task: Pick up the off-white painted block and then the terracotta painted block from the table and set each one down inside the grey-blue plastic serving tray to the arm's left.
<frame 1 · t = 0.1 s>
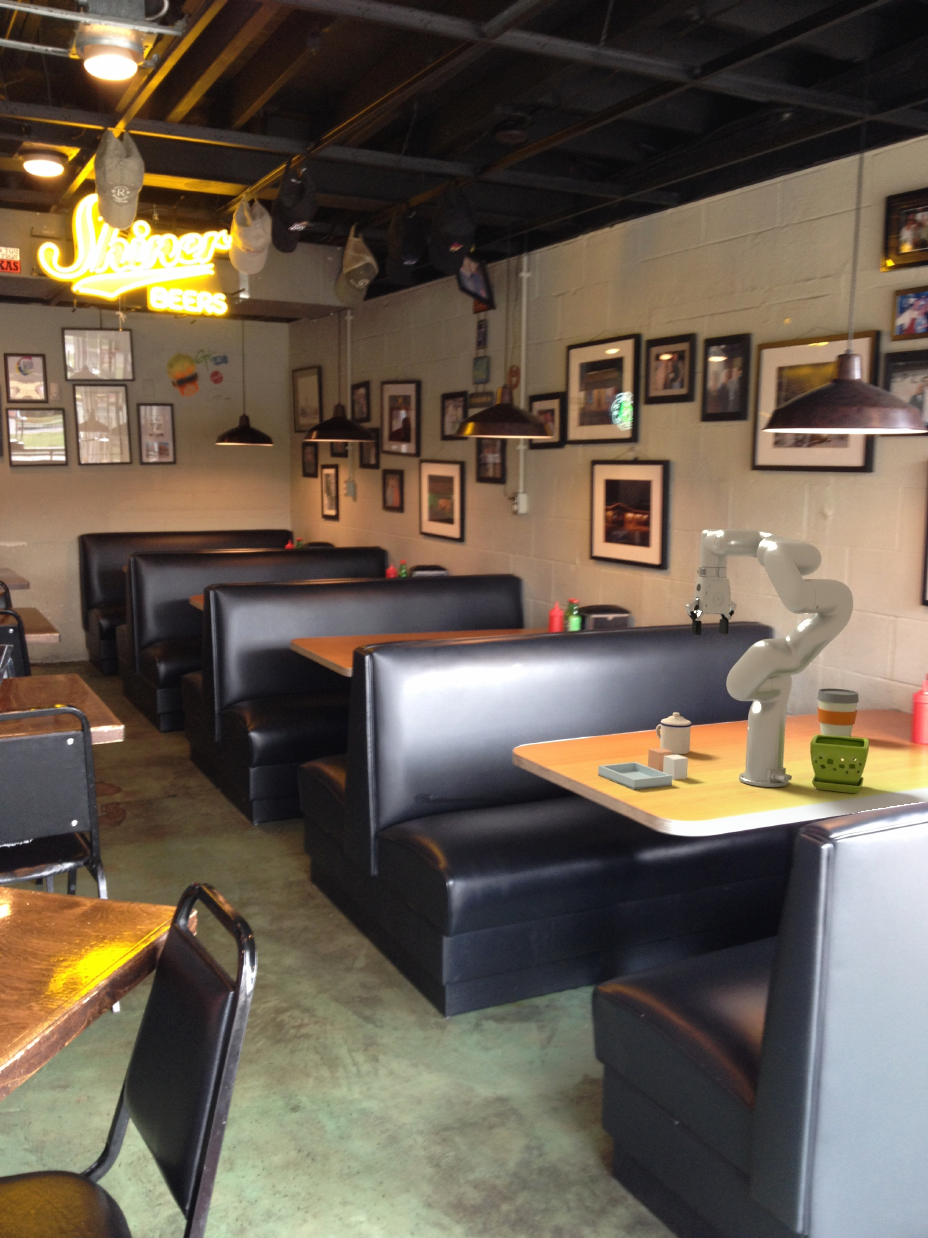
hand: (710, 634, 287), 37 cm above the table, tool pointing down, fingers open, 9 cm apart
reusable coffee cup: (835, 738, 328), on the table
terracotta block: (659, 770, 280), on the table
white block: (674, 777, 272), on the table
tray: (634, 780, 268), on the table
flower pot: (837, 788, 265), on the table
teacup with lid: (670, 751, 304), on the table
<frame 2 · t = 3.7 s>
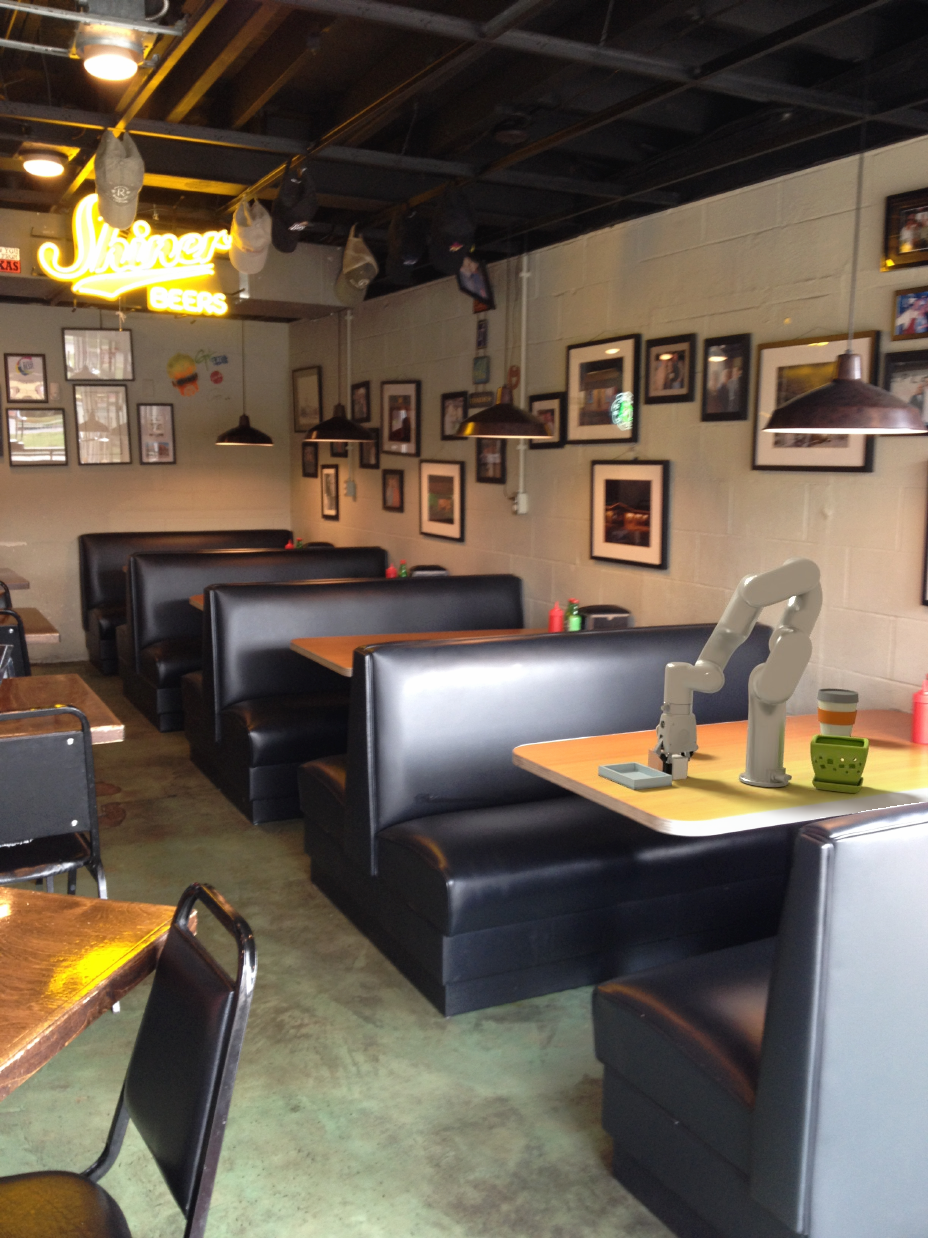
hand: (674, 775, 272), 0 cm above the table, tool pointing down, fingers closed on white block, 4 cm apart
white block: (674, 777, 272), on the table, touching gripper
everything else where it was.
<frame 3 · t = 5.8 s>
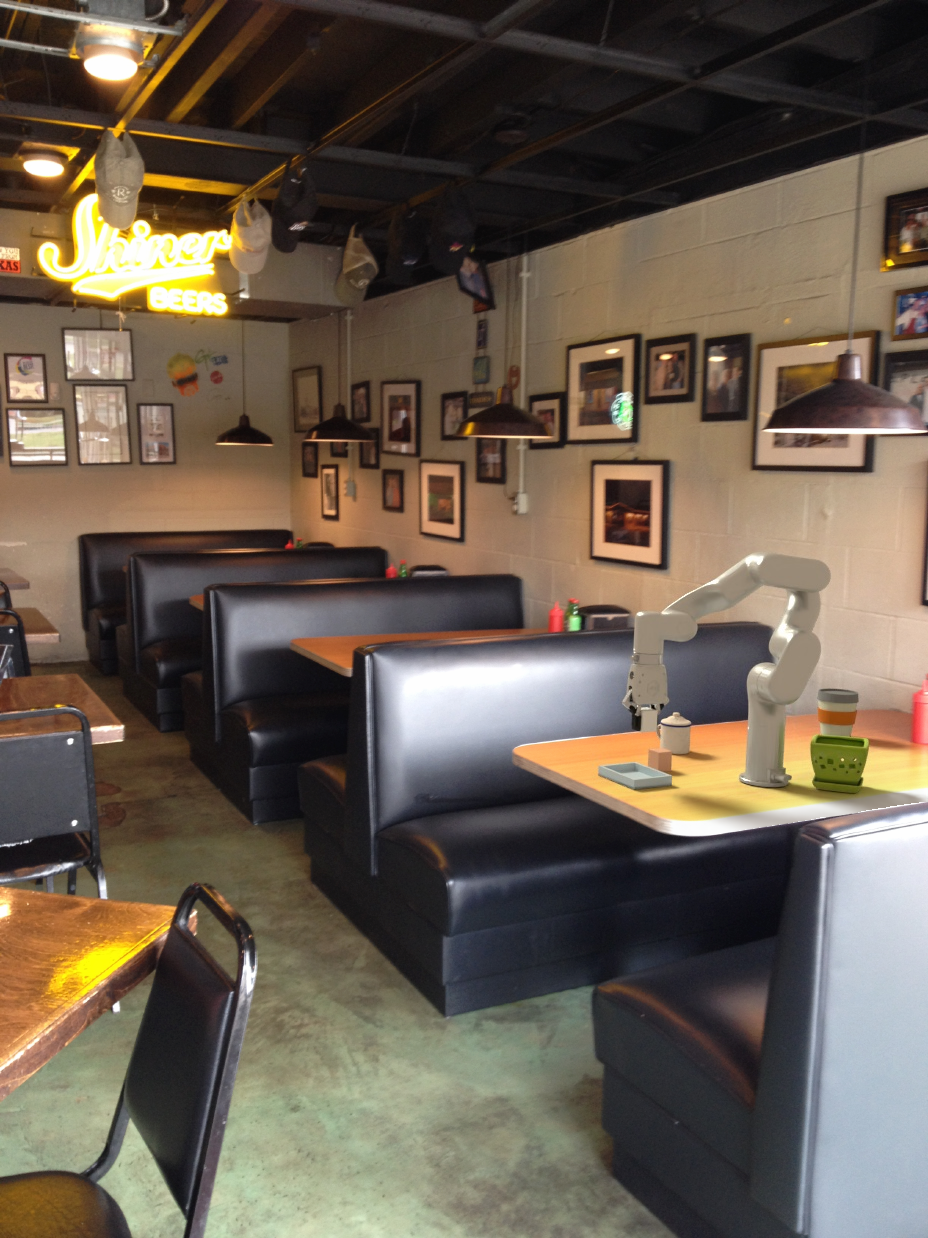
hand: (644, 728, 263), 14 cm above the table, tool pointing down, fingers closed on white block, 4 cm apart
white block: (644, 730, 263), point 14 cm above the table, touching gripper
everything else where it was.
when the fingers open (3 cm above the table, at t = 7.9 s): white block drops 2 cm, resting on tray.
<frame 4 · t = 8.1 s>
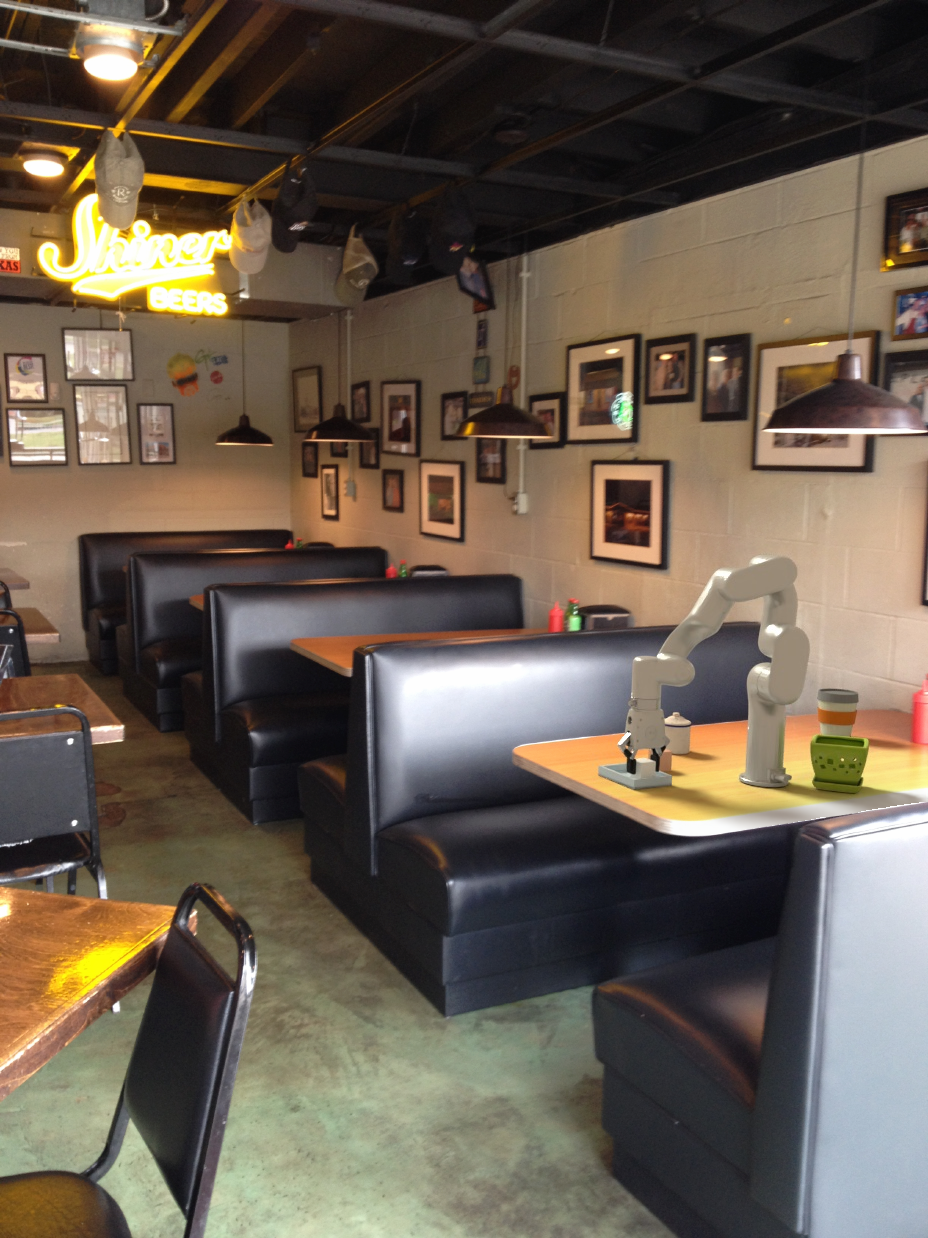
hand: (642, 771, 264), 3 cm above the table, tool pointing down, fingers open, 6 cm apart
white block: (642, 781, 264), point 1 cm above the table, touching tray
everything else where it was.
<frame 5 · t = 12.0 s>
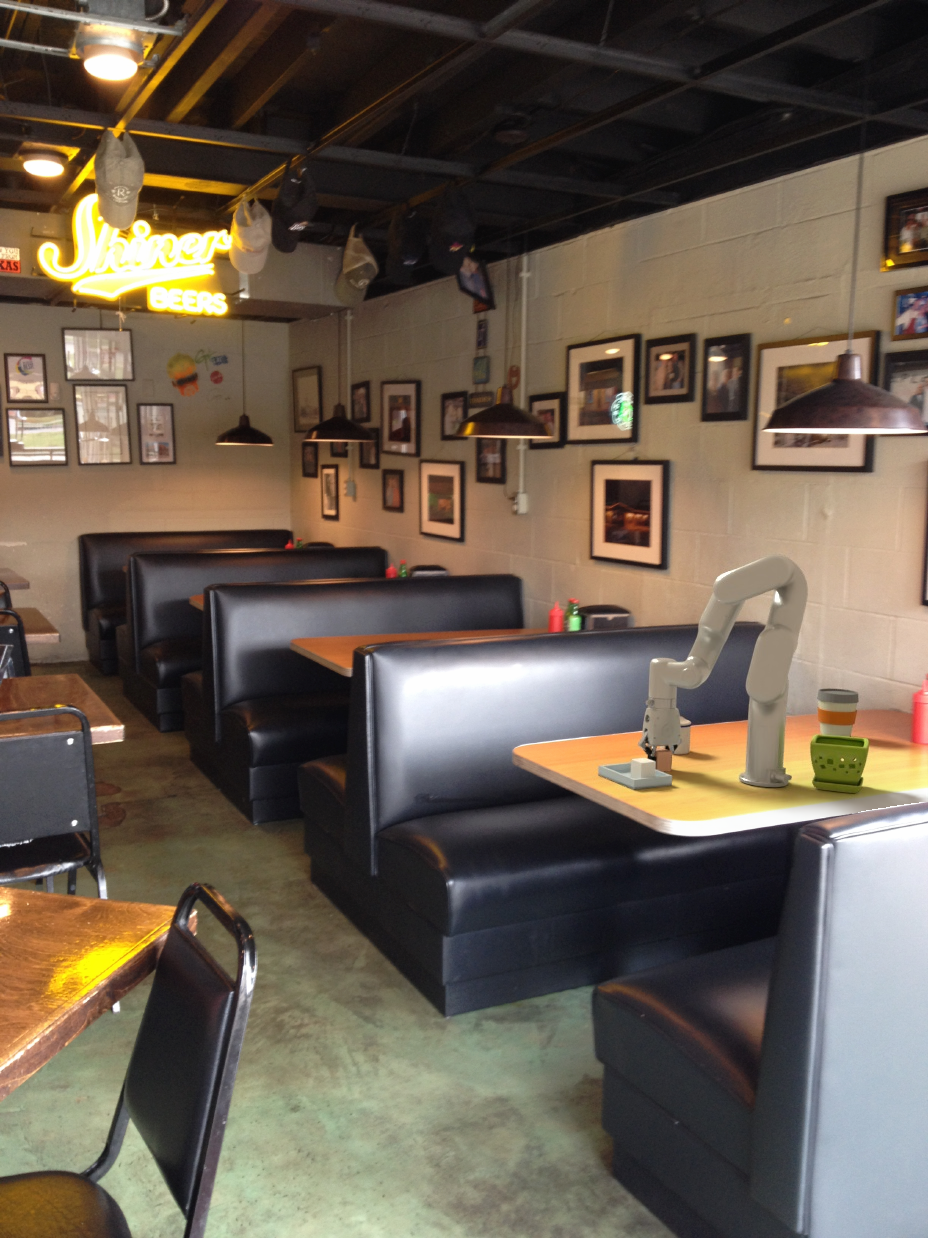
hand: (659, 768, 280), 0 cm above the table, tool pointing down, fingers closed on terracotta block, 4 cm apart
terracotta block: (659, 769, 280), on the table, touching gripper
everything else where it was.
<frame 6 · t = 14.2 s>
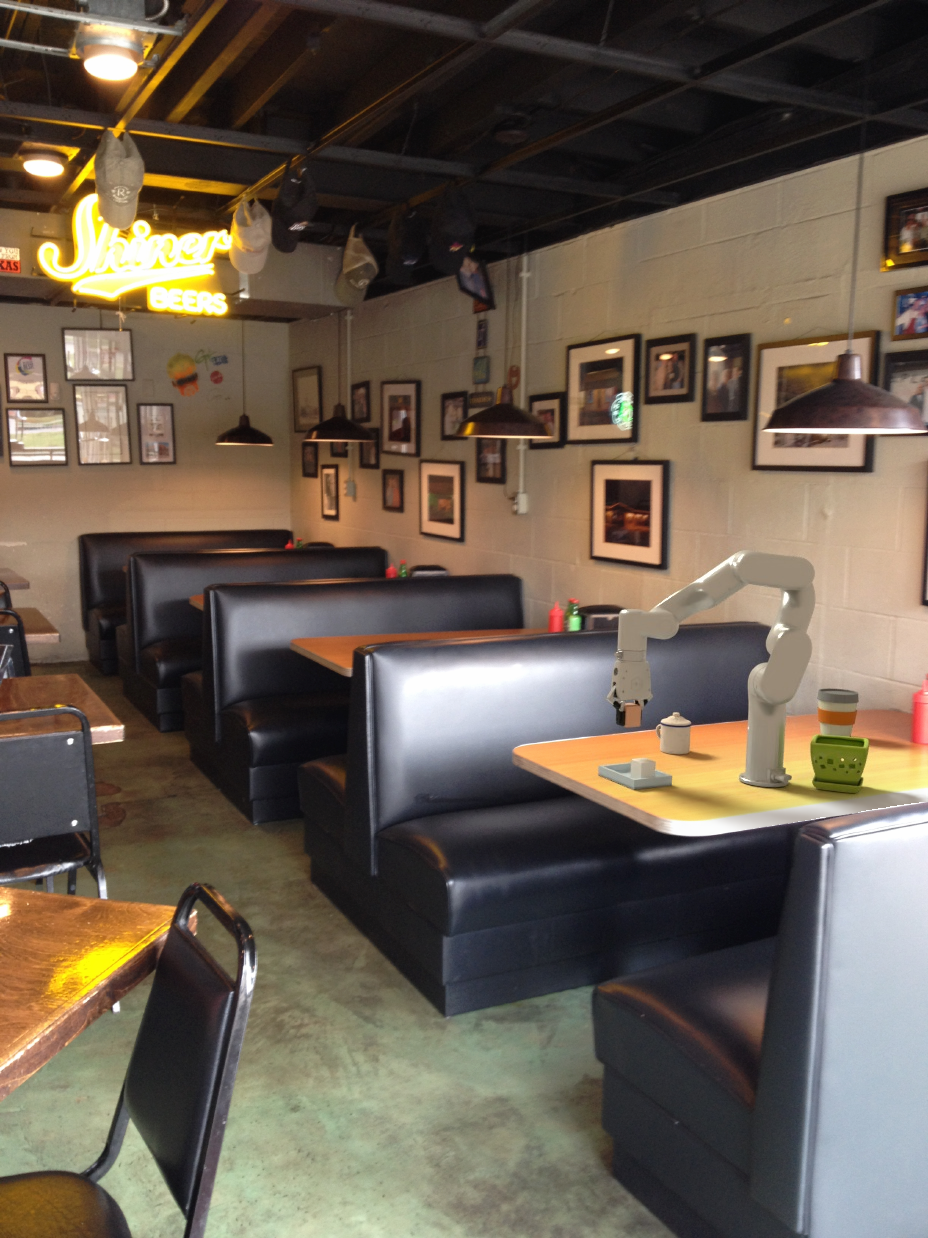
hand: (628, 723, 269), 14 cm above the table, tool pointing down, fingers closed on terracotta block, 4 cm apart
terracotta block: (628, 725, 269), point 14 cm above the table, touching gripper
everything else where it was.
when the fingers open (3 cm above the table, at t = 16.3 s): terracotta block drops 2 cm, resting on tray.
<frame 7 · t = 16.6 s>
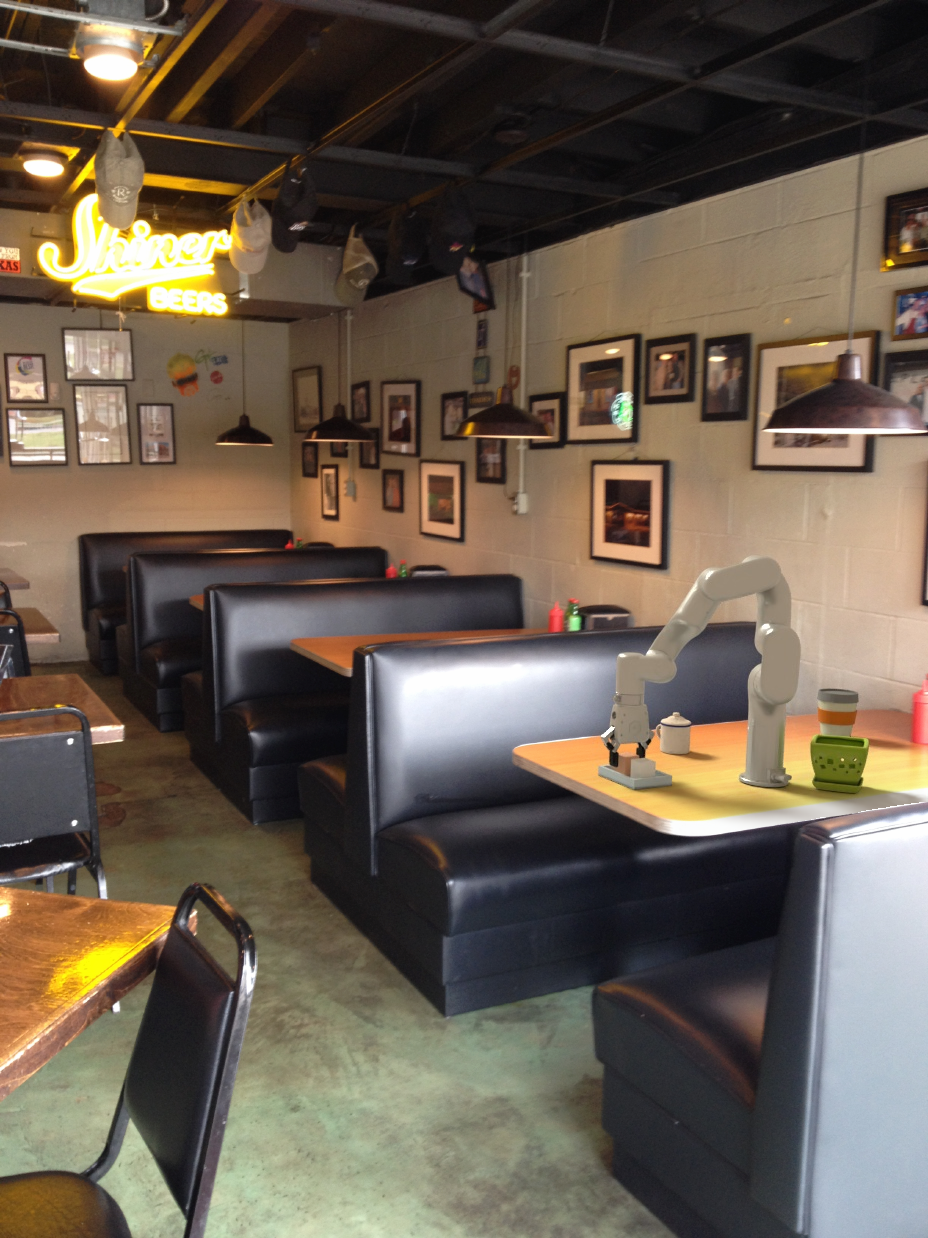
hand: (627, 764, 270), 3 cm above the table, tool pointing down, fingers open, 8 cm apart
terracotta block: (626, 775, 271), point 1 cm above the table, touching tray
everything else where it was.
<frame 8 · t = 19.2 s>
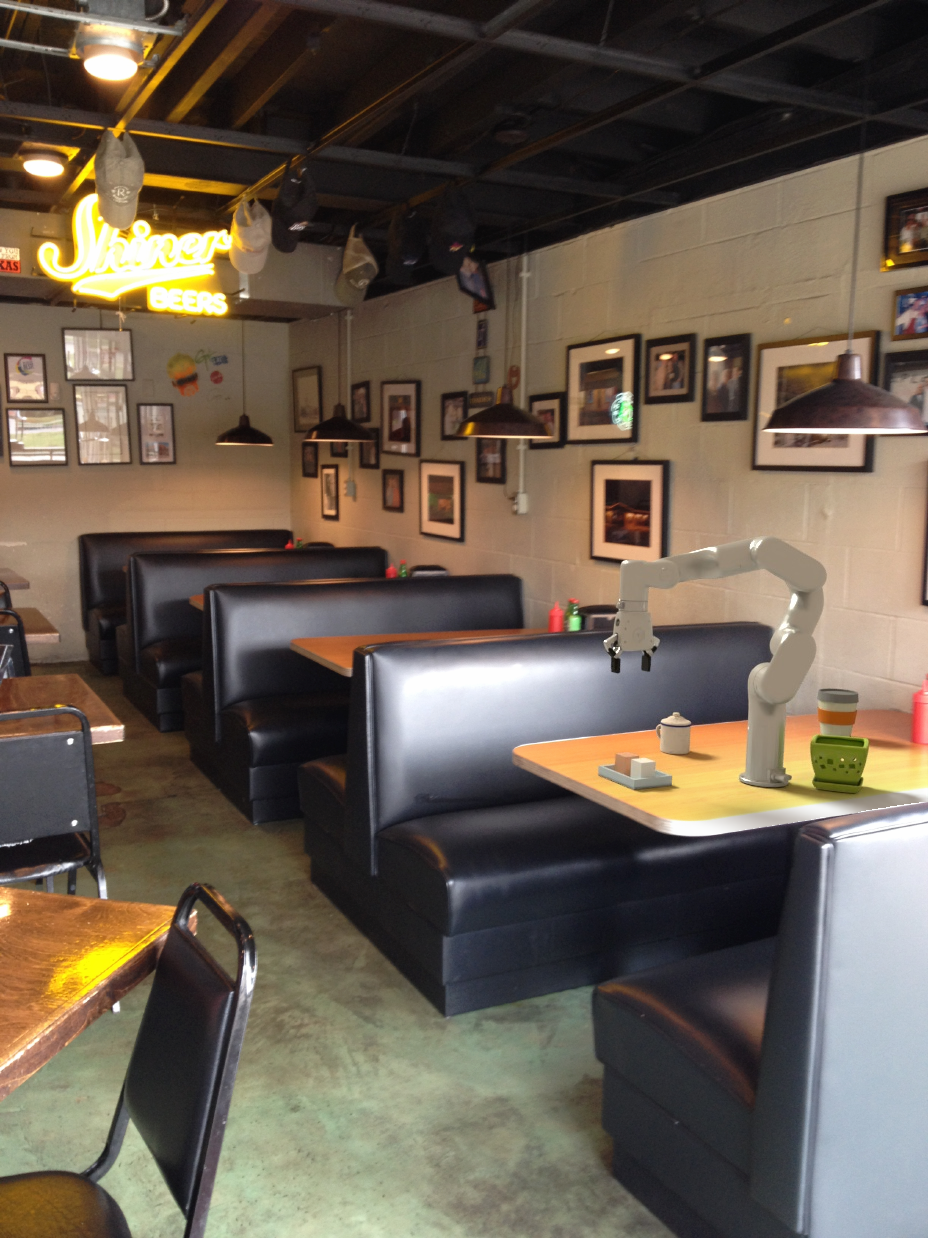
hand: (630, 671, 268), 28 cm above the table, tool pointing down, fingers open, 9 cm apart
nothing on the table moved.
at the end: white block inside the target area on the tray (3.5 cm from its centre), point 0.6 cm above the tray's base; terracotta block inside the target area on the tray (3.5 cm from its centre), point 0.6 cm above the tray's base; the gripper is holding nothing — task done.
